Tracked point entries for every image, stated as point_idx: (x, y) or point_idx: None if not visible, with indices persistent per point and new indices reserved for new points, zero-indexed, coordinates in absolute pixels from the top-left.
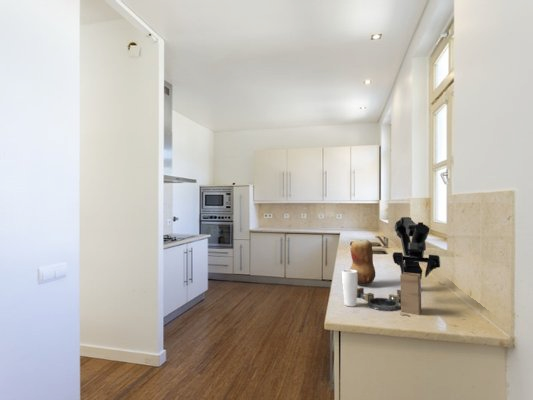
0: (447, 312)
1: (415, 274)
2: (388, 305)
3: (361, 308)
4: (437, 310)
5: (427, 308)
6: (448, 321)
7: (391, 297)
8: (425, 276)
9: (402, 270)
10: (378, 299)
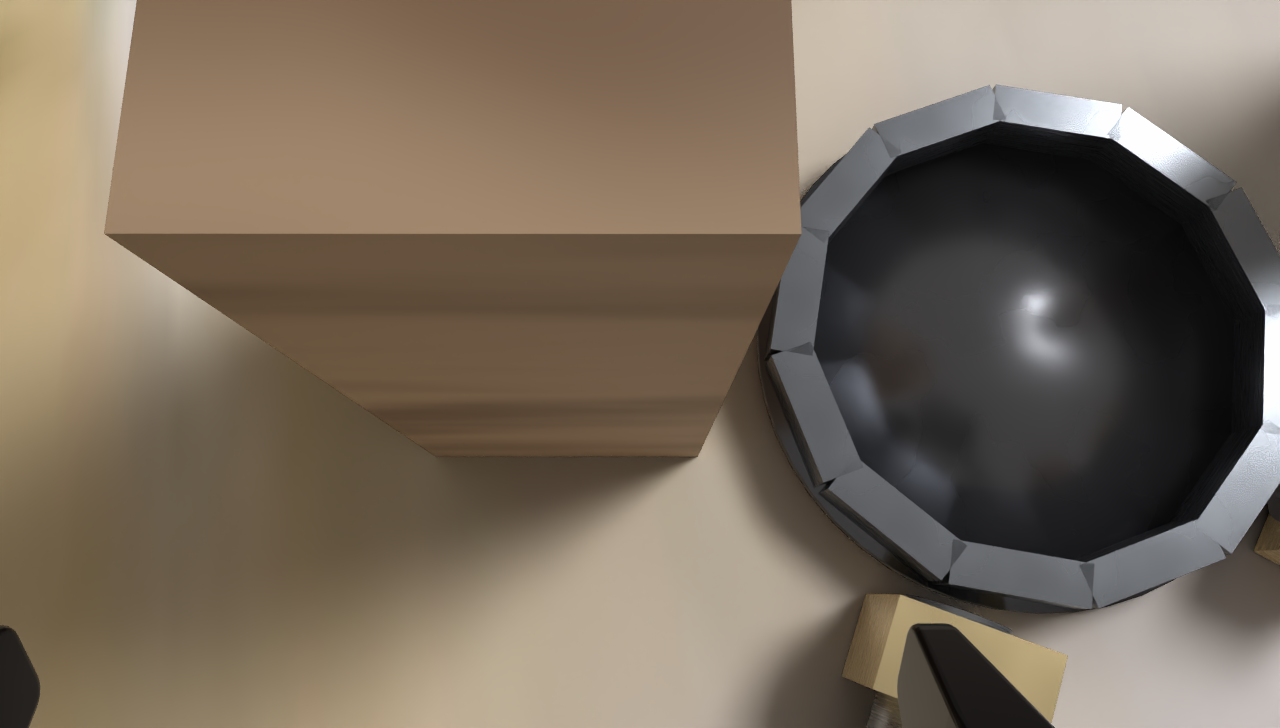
0: (53, 580)
1: (292, 51)
2: (935, 359)
3: (1226, 55)
4: (200, 599)
5: (355, 619)
6: (67, 169)
7: (992, 623)
8: (10, 646)
9: (974, 709)
10: (1183, 521)
